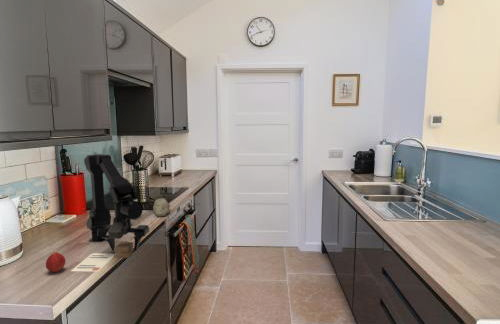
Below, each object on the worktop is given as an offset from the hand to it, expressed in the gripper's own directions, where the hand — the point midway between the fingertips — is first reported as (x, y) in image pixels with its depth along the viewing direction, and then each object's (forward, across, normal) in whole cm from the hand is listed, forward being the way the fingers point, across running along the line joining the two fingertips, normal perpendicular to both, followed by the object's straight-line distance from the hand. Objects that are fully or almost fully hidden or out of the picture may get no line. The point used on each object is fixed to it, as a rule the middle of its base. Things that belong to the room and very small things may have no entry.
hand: (124, 250), depth 113 cm
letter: (+2, -9, -6) cm, 11 cm away
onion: (+2, -19, -13) cm, 23 cm away
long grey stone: (+3, -5, +64) cm, 65 cm away
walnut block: (+2, 0, 0) cm, 2 cm away
